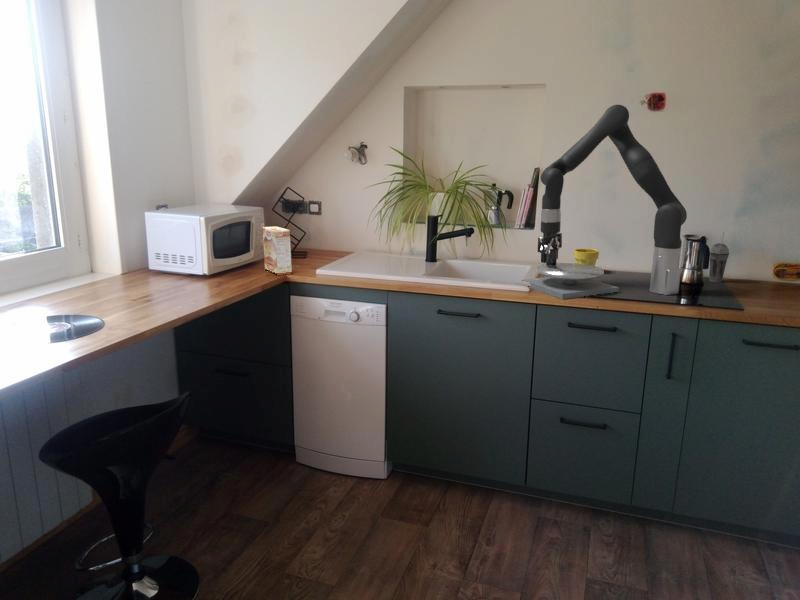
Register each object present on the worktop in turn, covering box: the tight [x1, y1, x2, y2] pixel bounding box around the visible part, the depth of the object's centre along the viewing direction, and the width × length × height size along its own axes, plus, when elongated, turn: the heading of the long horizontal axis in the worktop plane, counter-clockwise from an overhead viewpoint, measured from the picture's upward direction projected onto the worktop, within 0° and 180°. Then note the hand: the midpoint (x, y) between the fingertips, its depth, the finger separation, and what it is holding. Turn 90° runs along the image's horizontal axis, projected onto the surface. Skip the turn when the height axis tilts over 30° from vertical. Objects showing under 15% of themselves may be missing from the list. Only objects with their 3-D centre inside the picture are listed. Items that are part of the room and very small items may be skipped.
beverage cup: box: [708, 231, 730, 283], centre depth 245 cm, size 7×7×20 cm
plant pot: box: [573, 248, 600, 266], centre depth 264 cm, size 10×10×10 cm
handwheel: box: [536, 248, 605, 280], centre depth 232 cm, size 25×25×8 cm
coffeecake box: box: [262, 225, 293, 273], centre depth 264 cm, size 15×7×20 cm, turn 33°
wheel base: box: [520, 276, 620, 300], centre depth 234 cm, size 26×26×6 cm
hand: (549, 260), depth 240 cm, fingers open, 8 cm apart
